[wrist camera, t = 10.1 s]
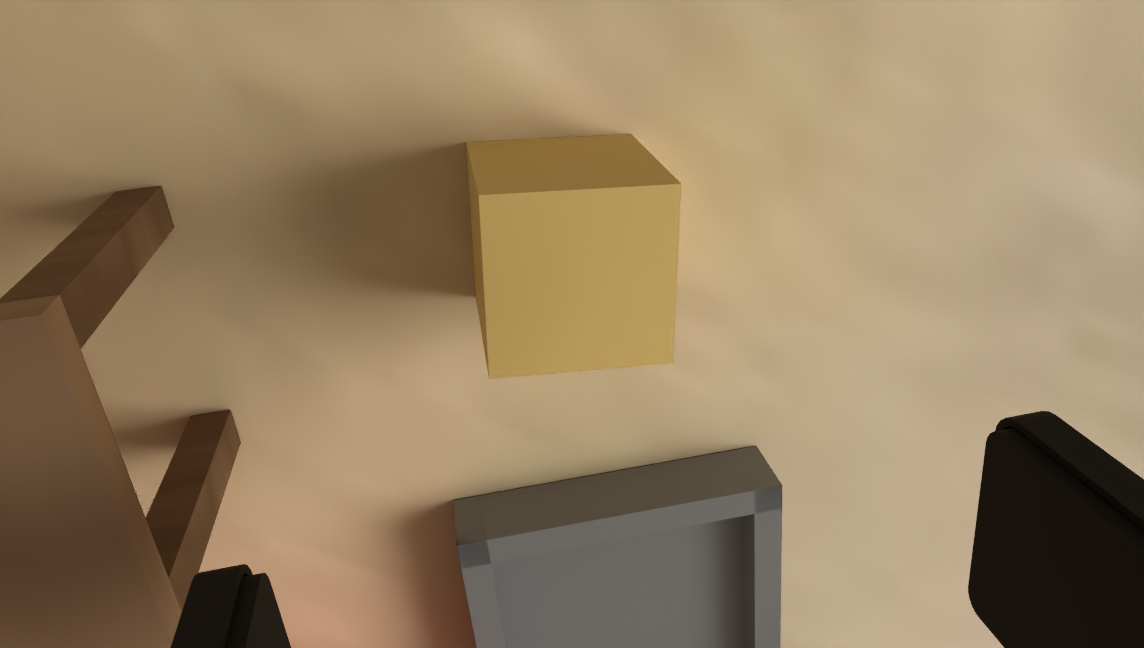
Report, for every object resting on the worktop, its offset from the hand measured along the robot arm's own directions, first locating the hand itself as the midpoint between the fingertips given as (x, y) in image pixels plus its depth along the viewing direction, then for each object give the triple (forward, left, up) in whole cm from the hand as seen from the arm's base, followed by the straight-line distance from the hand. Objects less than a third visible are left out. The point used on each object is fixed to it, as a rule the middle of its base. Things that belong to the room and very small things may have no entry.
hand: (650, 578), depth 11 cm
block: (-1, +1, -12) cm, 12 cm away
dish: (+12, +1, -12) cm, 17 cm away
